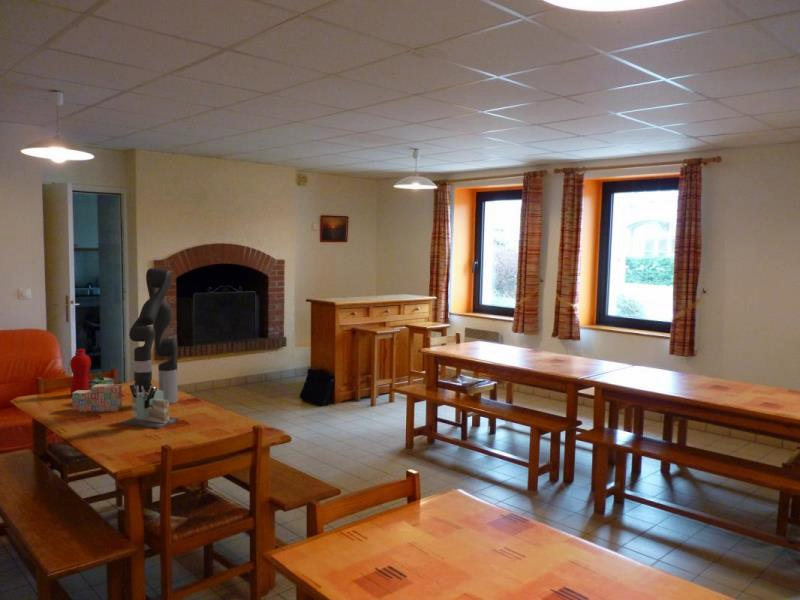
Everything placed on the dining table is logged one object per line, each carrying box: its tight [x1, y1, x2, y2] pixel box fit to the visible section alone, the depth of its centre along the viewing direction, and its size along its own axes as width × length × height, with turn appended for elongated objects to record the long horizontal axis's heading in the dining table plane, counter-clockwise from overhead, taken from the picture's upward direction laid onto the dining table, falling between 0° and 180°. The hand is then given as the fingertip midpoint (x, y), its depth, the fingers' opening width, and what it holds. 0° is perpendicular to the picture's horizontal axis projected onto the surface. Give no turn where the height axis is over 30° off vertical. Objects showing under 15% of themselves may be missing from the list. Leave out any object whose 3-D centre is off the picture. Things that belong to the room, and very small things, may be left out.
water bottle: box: [67, 348, 92, 397], centre depth 331 cm, size 9×11×25 cm
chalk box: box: [88, 372, 115, 390], centre depth 320 cm, size 9×9×15 cm
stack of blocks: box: [71, 383, 123, 412], centre depth 304 cm, size 21×6×12 cm, turn 95°
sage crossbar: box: [137, 389, 163, 419], centre depth 284 cm, size 14×3×10 cm, turn 161°
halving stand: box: [121, 396, 180, 430], centre depth 285 cm, size 14×20×11 cm
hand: (143, 407), depth 280 cm, fingers closed on sage crossbar, 3 cm apart
